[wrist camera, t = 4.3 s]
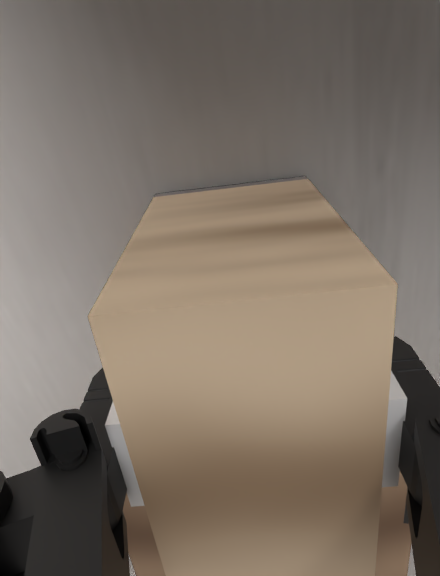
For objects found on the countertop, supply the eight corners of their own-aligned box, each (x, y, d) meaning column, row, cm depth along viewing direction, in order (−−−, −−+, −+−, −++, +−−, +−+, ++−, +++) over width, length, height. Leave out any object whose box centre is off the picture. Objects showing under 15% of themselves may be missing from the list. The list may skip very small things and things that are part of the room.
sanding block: (155, 194, 14) (87, 316, 7) (305, 176, 14) (397, 284, 7) (194, 401, 18) (177, 613, 11) (311, 390, 18) (372, 601, 11)
